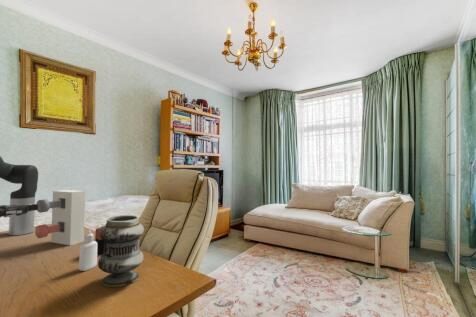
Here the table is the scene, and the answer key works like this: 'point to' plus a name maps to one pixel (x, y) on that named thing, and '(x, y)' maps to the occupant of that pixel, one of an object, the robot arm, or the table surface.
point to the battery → (99, 241)
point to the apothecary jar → (121, 250)
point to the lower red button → (45, 230)
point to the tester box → (69, 217)
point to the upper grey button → (47, 205)
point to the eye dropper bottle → (88, 253)
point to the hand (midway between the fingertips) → (36, 206)
